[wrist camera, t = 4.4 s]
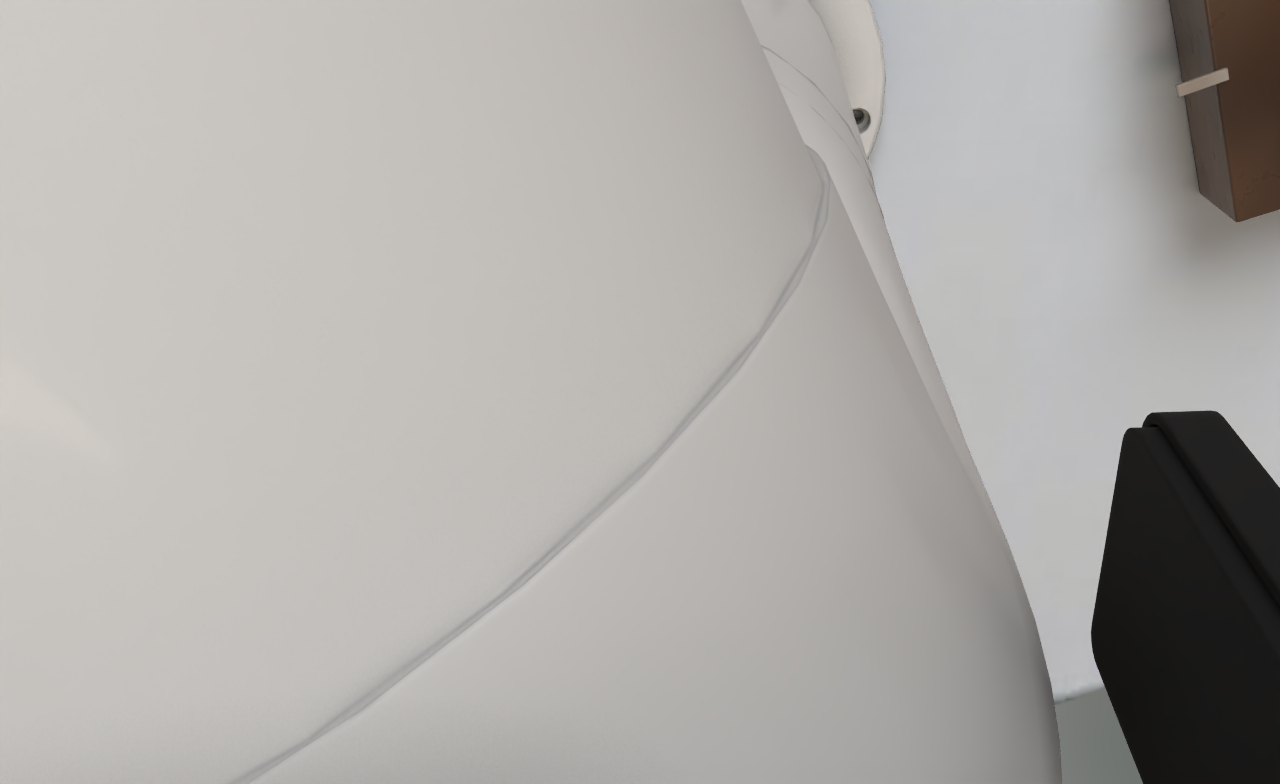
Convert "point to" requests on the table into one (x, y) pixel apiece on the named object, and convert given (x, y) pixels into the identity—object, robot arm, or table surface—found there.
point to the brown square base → (1232, 99)
